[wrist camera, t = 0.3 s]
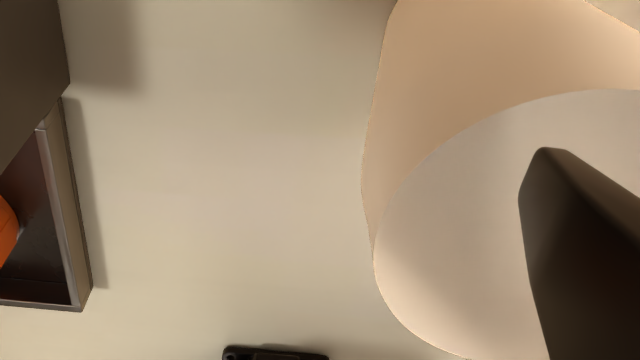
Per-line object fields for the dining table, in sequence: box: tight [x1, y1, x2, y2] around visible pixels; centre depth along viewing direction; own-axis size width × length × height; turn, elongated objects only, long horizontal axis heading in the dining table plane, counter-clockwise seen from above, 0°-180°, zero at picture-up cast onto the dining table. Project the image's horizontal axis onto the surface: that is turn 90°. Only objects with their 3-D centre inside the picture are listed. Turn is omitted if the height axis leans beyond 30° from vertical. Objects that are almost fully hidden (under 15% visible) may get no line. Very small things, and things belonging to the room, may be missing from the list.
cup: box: [361, 0, 640, 360], centre depth 18 cm, size 9×9×12 cm
